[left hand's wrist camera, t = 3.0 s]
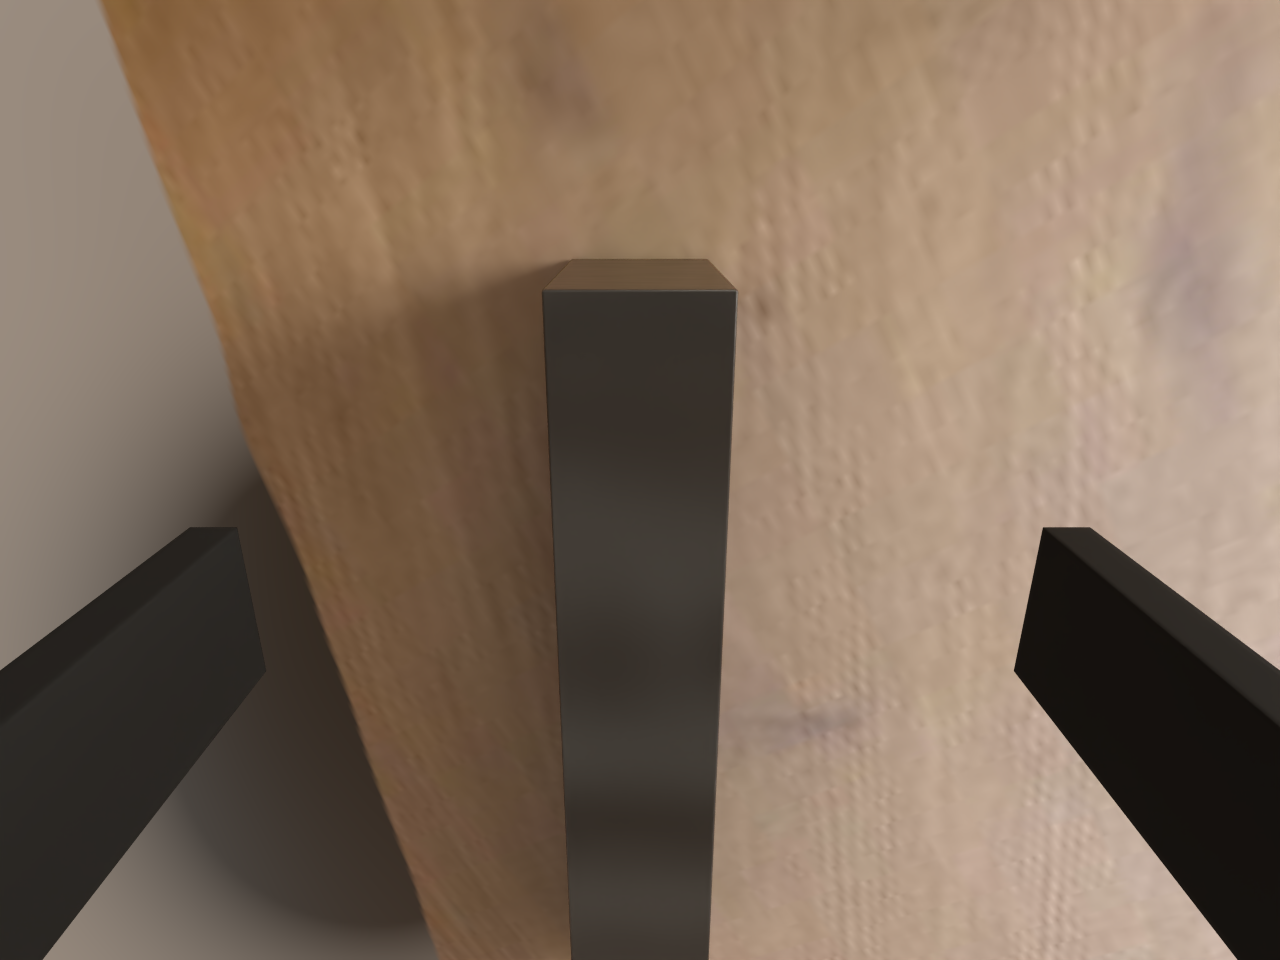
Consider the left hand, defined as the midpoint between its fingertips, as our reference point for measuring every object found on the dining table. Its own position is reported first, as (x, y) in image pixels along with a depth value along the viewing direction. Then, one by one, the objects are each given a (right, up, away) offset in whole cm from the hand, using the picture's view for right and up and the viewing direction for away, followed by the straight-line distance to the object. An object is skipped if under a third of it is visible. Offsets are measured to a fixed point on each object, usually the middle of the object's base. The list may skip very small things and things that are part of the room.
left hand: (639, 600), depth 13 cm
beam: (0, -6, +21) cm, 22 cm away
